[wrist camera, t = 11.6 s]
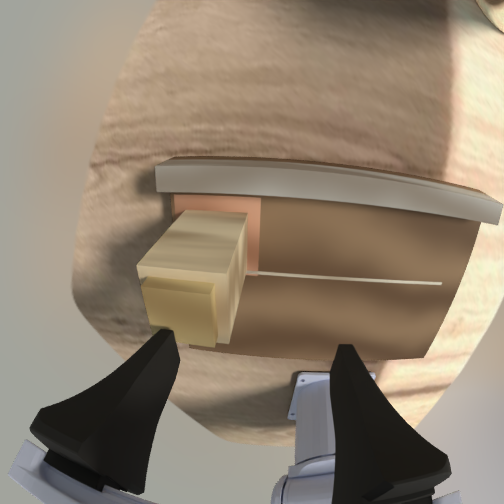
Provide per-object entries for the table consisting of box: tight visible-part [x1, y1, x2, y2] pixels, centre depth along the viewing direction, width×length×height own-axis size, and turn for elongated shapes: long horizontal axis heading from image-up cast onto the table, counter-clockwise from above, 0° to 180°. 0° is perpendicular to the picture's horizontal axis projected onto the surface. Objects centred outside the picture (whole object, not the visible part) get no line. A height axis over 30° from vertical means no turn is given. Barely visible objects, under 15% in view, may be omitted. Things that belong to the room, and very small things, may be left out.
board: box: [155, 156, 503, 361], centre depth 19 cm, size 16×22×3 cm
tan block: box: [136, 210, 248, 348], centre depth 15 cm, size 4×4×8 cm
